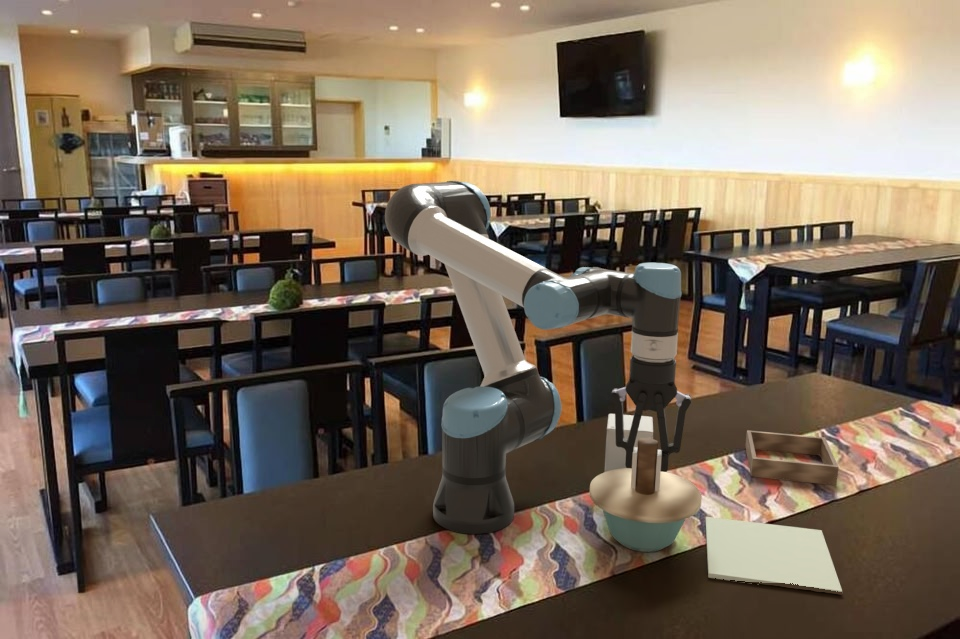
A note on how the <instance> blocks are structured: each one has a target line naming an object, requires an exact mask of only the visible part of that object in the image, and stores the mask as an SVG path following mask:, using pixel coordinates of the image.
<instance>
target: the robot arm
mask: <svg viewBox="0 0 960 639" xmlns="http://www.w3.org/2000/svg"><path fill="white" fill-rule="evenodd" d="M488 200H489V199H487V197H486V195H485V194H484V192H483V191H482V190H481V189H480V188H479V187H477V186H476V185H474V184H473V183H471V182H466V181H459V180H447V181H442V182H441V181H439V182H429V183H428V182H427V183H426V182H425V183H411V184H407V185H404V186H402V187H401V188H399V189H398V190H396V191H395V192H394V193H393V194H392V195H391V197H390V198H389V200H388V202H387V204H386V207H385V211H384V222H385V226H386V229H387V231H388V233H389V235H390V236H391V238H392V239H393V240H394V241H395V242H396V243H397V244H399V245H400V246H401V247H403V248H404V249H405V250H408V251H409V252H410V253H413V254H414V255H417V256H420V257H423V256H424V257H425V256H428V255H429V257H432V258H434V259H435V260H437V261H439V262H441V263H442V264H444V266H445V269H446V272H447V274H448V277H449V280H450V283H451V286H452V289H453V291H454V294H455V296H456V300H457V303H458V305H459V308H460V311H461V314H462V316H463V320H464V322H465V325H466V328H467V331H468V333H469V336H470V338H471V341H472V343H473V344H472V345H473V348H474V350H475V353H476V355H477V358H478V361H479V363H480V366H481V369H482V372H483V375H484V378H483V379H482V381H481V384H480V386H475V387H466V388H463V389H460V390H457V391H455V392H452V394H450V395H449V396H448V397H447V398H446V399H445V401H444V403H443V405H442V417H441V424H440V425H441V444H442V445H441V447H442V449H441V452H442V453H441V456H442V461H441V462H442V463H441V464H442V476H441V480H440V483H439V485H438V489H437V491H436V494H435V497H434V500H433V505H432V512H433V514H432V517H433V519H434V521H435V522H436V523H437V524H438V525H439V526H441V527H442V528H444V529H446V530H448V531H451V532H455V533H460V534H468V535H477V534H488V533H493V532H496V531H500V530H502V529H503V528H505V527H508V526H509V525H510V524H512V522H513V521H514V518H515V501H514V498H513V496H512V493H511V490H510V487H509V482H508V481H507V477H506V463H507V462H506V459H507V457H506V456H507V454H508V453H510V452H512V451H515V450H517V449H519V448H521V447H523V446H525V445H527V444H530V443H532V442H535V441H538V440H541V439H543V438H544V437H545V436H546V435H548V434H550V433H551V432H552V431H553V430H554V429H555V428H556V427H557V425H558V423H559V421H560V418H561V416H562V415H561V413H562V401H561V397H560V393H559V391H558V389H557V388H556V386H555V384H553V382H550V381H549V380H548V379H547V378H545V377H543V376H540V374H539V370H538V368H537V365H534V364H532V363H530V362H528V361H527V360H526V358H525V355H524V353H523V350H522V349H523V348H522V347H521V344H520V342H519V339H518V336H517V333H516V331H515V328H514V325H513V322H512V319H511V317H510V314H509V311H508V309H507V305H506V303H505V301H504V298H505V299H508V300H509V301H511V302H513V303H515V304H516V305H518V306H520V307H522V308H523V309H524V313H525V316H526V317H527V318H528V320H529V321H530V323H531V324H532V325H533V326H534V327H535V328H538V329H541V330H545V331H546V330H554V329H555V330H556V329H557V330H558V329H563V328H565V327H568V326H571V325H574V324H577V323H579V322H582V321H586V320H589V319H593V318H597V317H600V316H603V315H609V316H610V315H611V316H618V317H623V318H628V319H629V318H631V325H632V326H631V341H630V353H631V356H630V357H629V373H628V374H629V377H628V381H627V383H626V384H625V386H624V387H621V388H616V387H615V388H613V389H612V391H611V393H610V394H611V395H610V397H611V400H612V402H613V405H614V414H615V434H616V446H617V447H622V448H624V449H625V450H626V462H625V465H626V468H632V474H631V488H634V489H635V485H636V468H637V448H638V447H634V444H635V440H636V436H637V432H638V428H639V424H640V420H641V416H643V412H645V411H652V412H655V413H656V418H657V426H658V433H659V440H660V441H659V442H660V449H658V453H657V464H656V480H655V491H659V488H660V474H661V472H668V468H669V457H670V455H671V454H673V453H674V454H677V453H680V451H681V446H682V440H683V432H684V425H685V421H686V420H685V418H686V414H687V410H688V409H689V407H690V406H691V404H692V397H691V395H690V394H688V393H686V394H684V393H682V392H681V391H679V390H678V388H677V385H676V368H677V360H676V359H675V357H676V356H677V355H678V354H677V352H678V338H679V318H680V310H681V309H680V307H681V297H682V295H683V292H682V272H681V270H680V268H679V266H676V265H674V264H671V263H665V262H642V263H639V264H638V265H636V266H635V270H634V272H625V271H619V270H612V269H606V268H605V269H604V268H601V267H600V266H599V267H598V266H595V267H589V266H587V267H586V266H585V267H584V266H582V267H579V268H577V269H576V270H575V272H574V273H572V274H571V276H567V277H566V276H562V275H561V274H559V273H556V272H554V271H552V270H550V269H548V268H546V267H545V266H542V265H541V264H538V263H537V262H535V261H532V260H531V259H529V258H527V257H526V256H523V255H521V254H519V253H517V252H515V251H513V250H511V249H510V248H508V247H505V246H504V245H502V244H500V243H497V242H496V241H494V240H492V239H490V238H489V235H488V234H489V233H488V231H487V230H488V228H489V227H490V223H491V222H490V218H491V217H492V216H491V214H492V211H491V207H490V203H489V201H488ZM626 395H628V397H629V398H630V400H631V401H632V402H633V404H634V405H635V410H634V413H633V415H634V417H633V421H632V425H631V429H630V433H629V437H628V440H627V439H625V438H624V422H623V415H624V402H625V400H626ZM674 399H675V400H676V401H675V402H676V403H675V404H676V406H677V407H678V408H677V413H676V414H677V415H676V420H675V421H676V422H675V428H674V435H673V440H672V442H671V443H669V434H668V427H667V426H668V425H667V418H666V417H667V416H666V408H667V407H668V405H669V404H671V402H672V401H673V400H674Z"/></svg>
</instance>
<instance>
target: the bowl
mask: <svg viewBox="0 0 960 639" xmlns="http://www.w3.org/2000/svg"><path fill="white" fill-rule="evenodd" d="M602 511H603V514H604V517H605V518H604V519H605V521H606V524H607V527H608V529H609V533H610V535H611V536H612V537H613V539H614V540H616V541H617V542H618V543H619V544H620V545H622V546H623V547H625V548H627V549H629V550H633V551H636V552H643V553H649V552H650V553H651V552H652V553H653V552H658V551H661V550H663V549H665V548H667V547H669V546H671V545H672V544H673V543H674V542H675V540H676V538H677V537H678V534H679V532H680V531H681V529H682V527H683V525H684V522H685V521H686V519H684V520H680V521H675V522H668V523H646V522H638V521H632V520H628V519H624V518H620V517H617V516H615V515H612V514H610V513H608V512H606V511H604V510H602Z"/></svg>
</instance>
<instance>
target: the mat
mask: <svg viewBox="0 0 960 639" xmlns="http://www.w3.org/2000/svg"><path fill="white" fill-rule="evenodd" d="M705 536H706V537H705V539H706V555H707V558H706V561H707V574H708V575H707V577H708V578H709V579H715V578H716V579H715V580H723V579H724V580H723V581H730V580H735V581H734V582H737V581H745V582H759V583H760V582H762V583H785V584H790V583H791V584H792V583H793V584H794V585H795V584H796V585H797V584H798V585H799V586H806V587H814V588H819V589H825V590H831V591H836V592H837V591H838V592H842V593H843V589H842V586H841V584H840V579H839V578H838V575H837V571H836V569H835V565H834V562H833V559H832V557H831V553H830V550H829V548H828V545H827V543H826V540H825V536H824V533H823V530H821V529H814V528H806V527H798V526H790V525H789V526H788V525H781V524H780V525H779V524H771V523H764V522H753V521H747V520H746V521H745V520H739V519H738V520H736V519H728V518H720V517H713V516H711V517H710V516H705ZM745 582H744V583H745ZM793 584H792V585H793Z"/></svg>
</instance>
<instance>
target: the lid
mask: <svg viewBox="0 0 960 639" xmlns="http://www.w3.org/2000/svg"><path fill="white" fill-rule="evenodd" d="M658 450H659V441H658V440H656V439H654V438H653V439H650V438H642V439H639V440H638V448H637V468H636V485H635V489H634V488H631V474H632V468H622V469H615V470H610V471H607V472H605V471H604V472H603V473H599V474H598V475H596V476H595V477H594V478H593V479H592V480H591V481H590V485H589V497H590V499H591V501H592V502H593V503H594V504H595V506H597V507H598V508H599V509H601V511H603V510H604V511H606V512H608V513H610V514H612V515H615V516H617V517H620V518H624V519H628V520H632V521H638V522H646V523H668V522H675V521H680V520H684V519H685V520H686V519H689V518H690V517H693V516H695V515H696V514H697V513H698V512H699V511H700V509H701V508H702V498H703V497H702V493H701V491H700V489H699V488H698V487H697V485H695V484H694V483H692V482H691V481H689V480H688V479H686V478H683V477H682V476H680V475H677V474H674V473H670V472H668V471H667V472H661V474H660V488H659V491H655V480H656V464H657V453H658Z"/></svg>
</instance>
